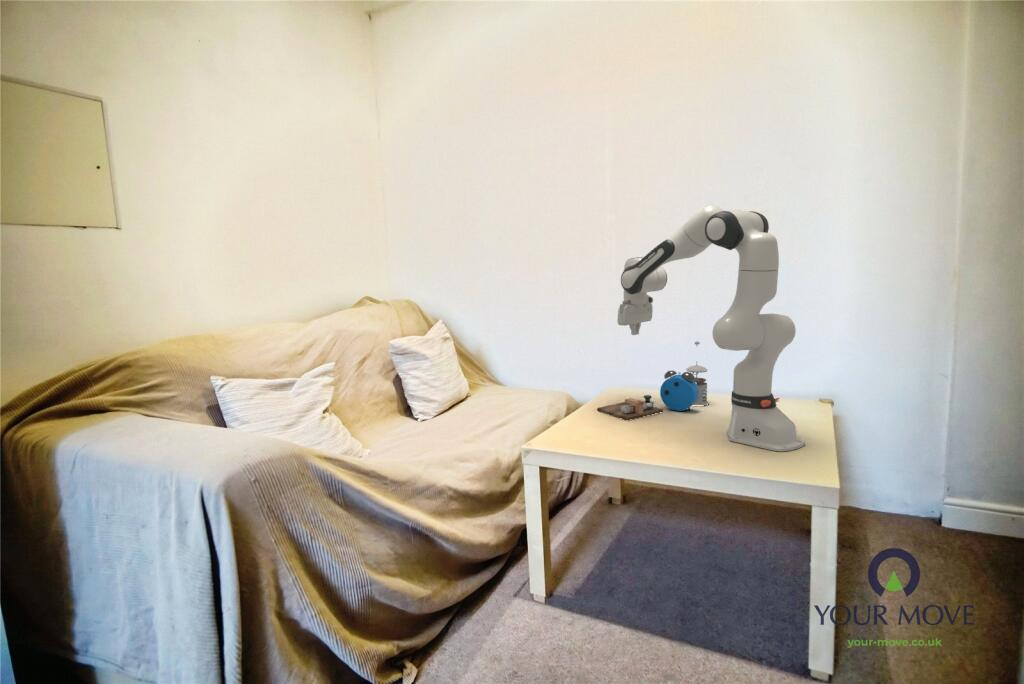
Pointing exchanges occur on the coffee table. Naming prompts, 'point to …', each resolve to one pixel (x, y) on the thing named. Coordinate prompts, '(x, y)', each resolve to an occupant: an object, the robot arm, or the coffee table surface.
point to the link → (631, 407)
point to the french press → (699, 383)
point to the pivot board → (616, 411)
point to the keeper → (636, 404)
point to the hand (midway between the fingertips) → (635, 334)
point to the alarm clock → (679, 391)
